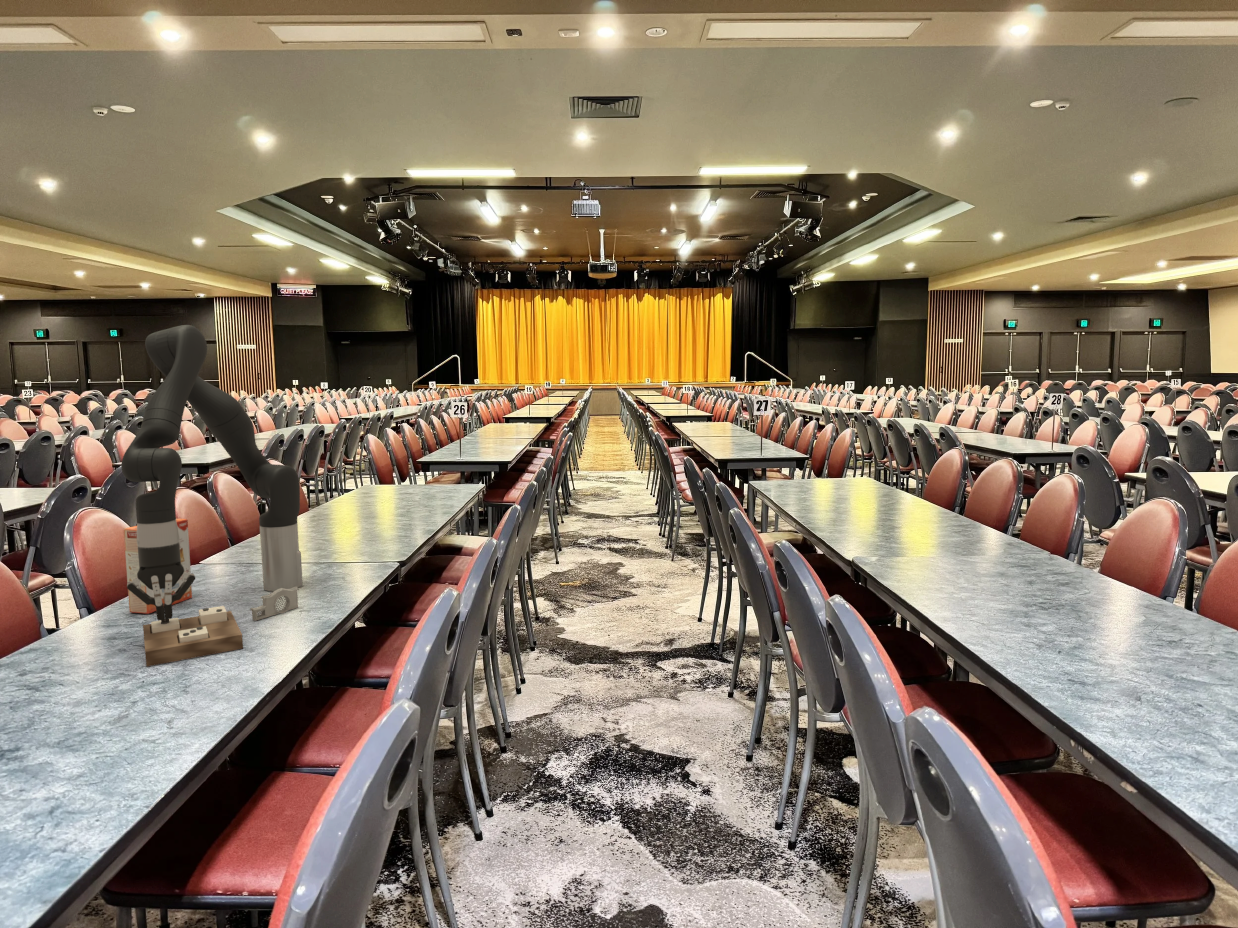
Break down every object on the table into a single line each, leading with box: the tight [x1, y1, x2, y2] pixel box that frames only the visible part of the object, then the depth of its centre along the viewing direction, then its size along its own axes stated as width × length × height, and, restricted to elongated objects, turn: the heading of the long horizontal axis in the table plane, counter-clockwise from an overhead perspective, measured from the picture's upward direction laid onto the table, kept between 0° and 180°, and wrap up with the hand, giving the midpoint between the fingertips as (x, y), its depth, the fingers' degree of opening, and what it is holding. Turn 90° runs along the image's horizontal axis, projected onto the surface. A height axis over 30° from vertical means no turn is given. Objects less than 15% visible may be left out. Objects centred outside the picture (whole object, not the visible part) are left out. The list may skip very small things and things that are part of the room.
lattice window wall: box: [250, 586, 299, 622], centre depth 175 cm, size 12×2×6 cm, turn 151°
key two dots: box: [198, 605, 227, 625], centre depth 162 cm, size 5×5×4 cm
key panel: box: [142, 610, 244, 668], centre depth 156 cm, size 17×19×3 cm
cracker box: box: [123, 518, 193, 615], centre depth 181 cm, size 14×6×21 cm, turn 168°
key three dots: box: [178, 626, 208, 643], centre depth 151 cm, size 5×5×4 cm
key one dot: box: [150, 617, 180, 633], centre depth 157 cm, size 5×5×4 cm
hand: (164, 621), depth 157 cm, fingers closed
